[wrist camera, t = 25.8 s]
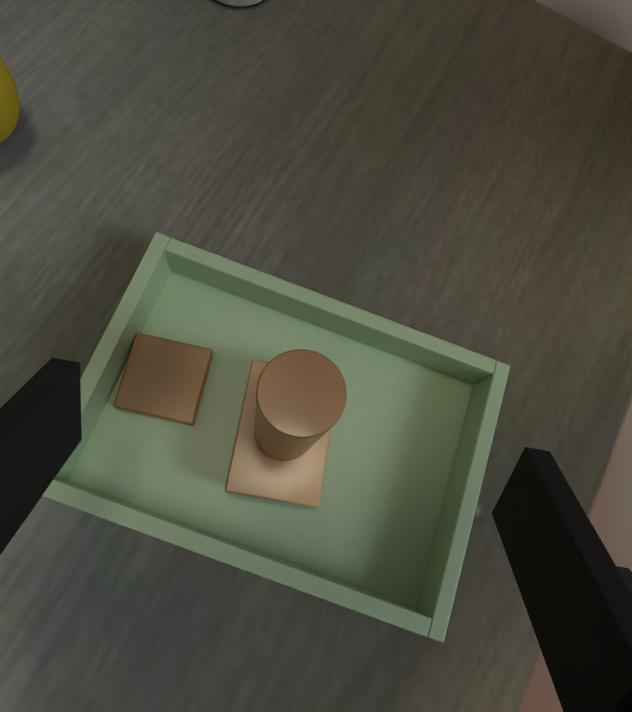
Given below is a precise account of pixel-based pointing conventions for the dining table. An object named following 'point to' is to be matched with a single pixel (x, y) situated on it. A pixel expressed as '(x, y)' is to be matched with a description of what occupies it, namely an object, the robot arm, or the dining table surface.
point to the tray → (345, 450)
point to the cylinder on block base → (286, 428)
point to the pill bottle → (239, 2)
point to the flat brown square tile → (164, 379)
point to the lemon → (7, 102)
